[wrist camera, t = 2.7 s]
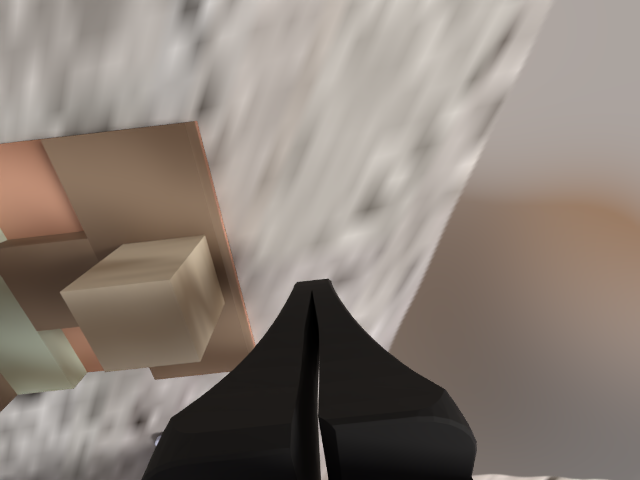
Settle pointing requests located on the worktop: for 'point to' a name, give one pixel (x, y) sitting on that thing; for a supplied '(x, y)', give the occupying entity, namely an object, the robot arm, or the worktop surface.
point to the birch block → (148, 303)
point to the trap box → (100, 244)
